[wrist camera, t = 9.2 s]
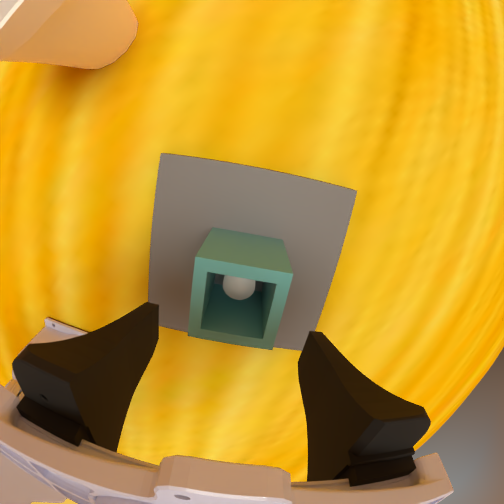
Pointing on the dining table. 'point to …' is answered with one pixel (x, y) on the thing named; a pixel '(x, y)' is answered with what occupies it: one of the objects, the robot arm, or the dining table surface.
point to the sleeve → (247, 310)
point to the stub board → (247, 221)
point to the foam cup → (66, 31)
